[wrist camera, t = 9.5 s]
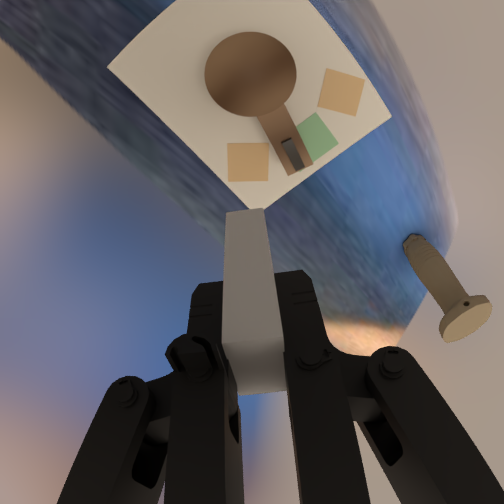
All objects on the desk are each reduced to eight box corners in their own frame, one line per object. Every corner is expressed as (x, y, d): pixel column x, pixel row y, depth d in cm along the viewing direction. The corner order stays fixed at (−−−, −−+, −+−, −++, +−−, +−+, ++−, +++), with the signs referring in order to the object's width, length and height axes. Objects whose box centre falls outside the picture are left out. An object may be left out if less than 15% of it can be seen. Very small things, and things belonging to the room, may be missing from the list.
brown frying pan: (195, 59, 24) (187, 58, 20) (264, 24, 22) (270, 17, 19) (261, 172, 31) (266, 191, 27) (325, 142, 29) (339, 157, 25)
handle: (433, 247, 39) (489, 323, 27) (394, 265, 40) (442, 348, 28) (429, 219, 36) (494, 295, 24) (388, 238, 38) (443, 323, 25)
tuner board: (253, -50, 19) (253, -55, 18) (387, 114, 29) (392, 116, 28) (111, 66, 25) (106, 67, 24) (255, 210, 35) (256, 216, 34)
